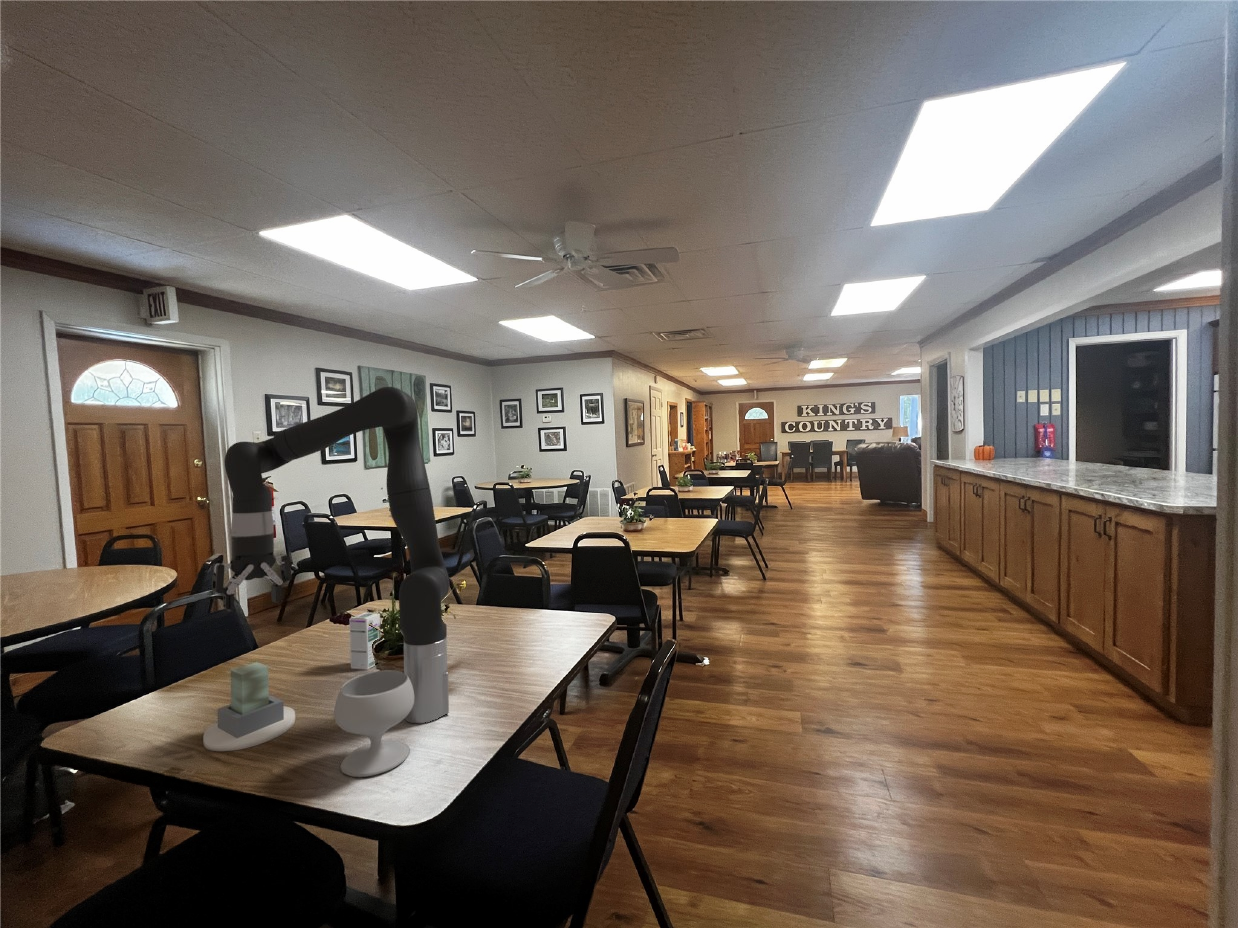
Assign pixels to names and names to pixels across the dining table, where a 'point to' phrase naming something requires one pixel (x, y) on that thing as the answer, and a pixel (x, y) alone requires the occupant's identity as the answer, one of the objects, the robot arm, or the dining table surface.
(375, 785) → the dining table surface
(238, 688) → the square peg
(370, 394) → the robot arm
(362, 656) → the syrup box
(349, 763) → the chalice
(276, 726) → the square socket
